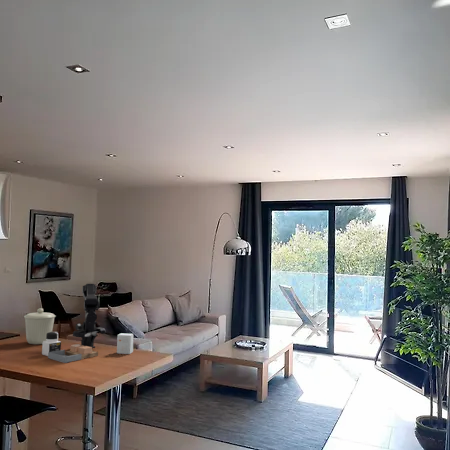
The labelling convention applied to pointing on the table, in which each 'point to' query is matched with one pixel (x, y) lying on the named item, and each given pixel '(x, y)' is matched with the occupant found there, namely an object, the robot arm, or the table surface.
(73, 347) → the tile
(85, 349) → the peach square block
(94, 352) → the board
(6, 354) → the table surface
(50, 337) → the medicine bottle
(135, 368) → the table surface
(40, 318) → the canister
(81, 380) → the table surface
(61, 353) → the tray
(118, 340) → the small box
